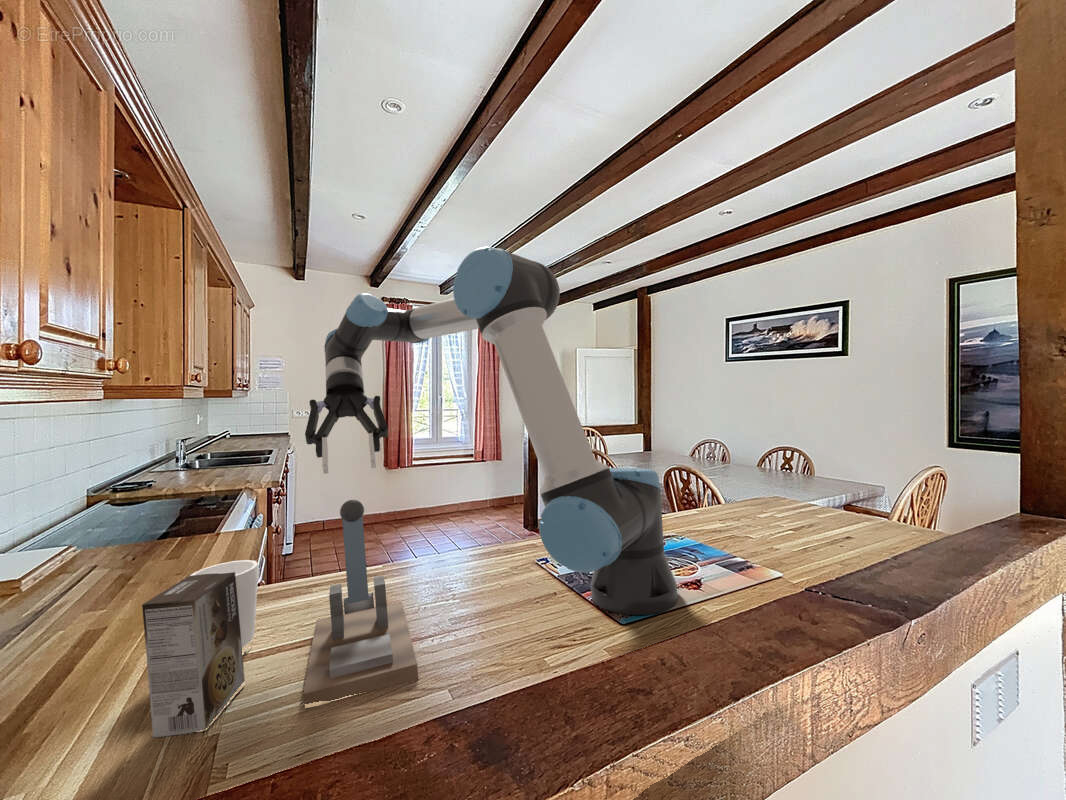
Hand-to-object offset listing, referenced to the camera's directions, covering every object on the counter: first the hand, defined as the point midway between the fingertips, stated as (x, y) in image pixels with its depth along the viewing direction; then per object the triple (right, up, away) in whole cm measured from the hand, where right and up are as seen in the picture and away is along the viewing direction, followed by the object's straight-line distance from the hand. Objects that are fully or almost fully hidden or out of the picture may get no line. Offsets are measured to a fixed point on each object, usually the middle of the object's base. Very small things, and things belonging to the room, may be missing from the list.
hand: (349, 466), depth 87 cm
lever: (+6, -22, -11) cm, 25 cm away
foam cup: (-14, -28, -12) cm, 34 cm away
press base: (+8, -26, -15) cm, 31 cm away
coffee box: (-9, -28, -27) cm, 39 cm away
